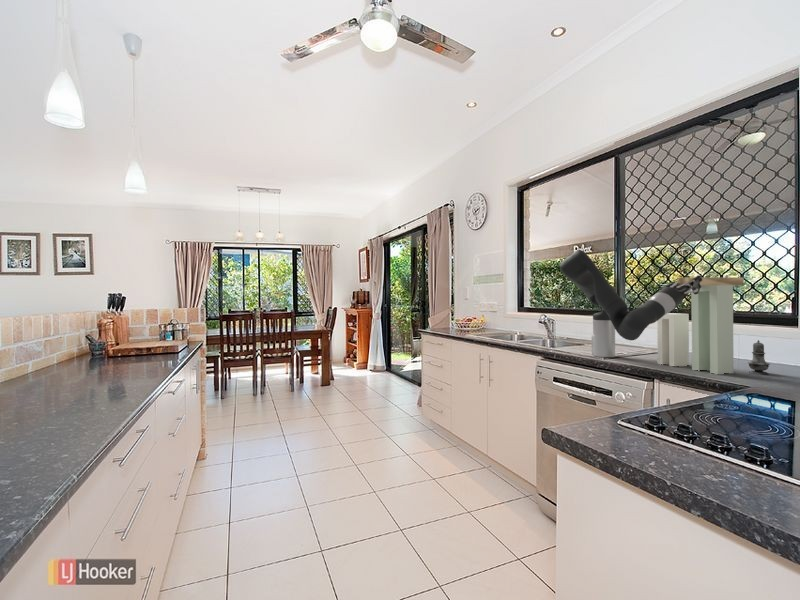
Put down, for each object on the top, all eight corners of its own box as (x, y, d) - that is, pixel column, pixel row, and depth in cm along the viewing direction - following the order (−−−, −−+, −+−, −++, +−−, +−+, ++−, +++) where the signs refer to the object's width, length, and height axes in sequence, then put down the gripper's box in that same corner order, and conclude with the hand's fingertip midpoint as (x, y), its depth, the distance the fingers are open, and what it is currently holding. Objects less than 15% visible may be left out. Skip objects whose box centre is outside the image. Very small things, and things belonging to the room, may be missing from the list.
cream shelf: (657, 364, 158) (657, 313, 157) (672, 362, 160) (671, 313, 160) (674, 366, 151) (673, 314, 151) (689, 365, 153) (688, 313, 153)
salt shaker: (765, 375, 133) (765, 341, 133) (744, 372, 138) (744, 339, 138) (773, 373, 136) (772, 340, 136) (751, 371, 141) (751, 338, 141)
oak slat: (678, 286, 139) (678, 277, 138) (733, 285, 146) (733, 277, 146) (688, 285, 135) (688, 277, 135) (743, 285, 143) (743, 277, 143)
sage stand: (692, 370, 144) (691, 286, 144) (707, 368, 146) (706, 286, 146) (717, 374, 136) (716, 285, 135) (733, 373, 138) (732, 285, 138)
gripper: (679, 292, 127) (711, 267, 131) (641, 293, 141) (671, 270, 145) (687, 311, 128) (719, 285, 132) (649, 310, 142) (679, 287, 146)
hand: (694, 277), depth 138 cm, fingers closed on oak slat, 3 cm apart
